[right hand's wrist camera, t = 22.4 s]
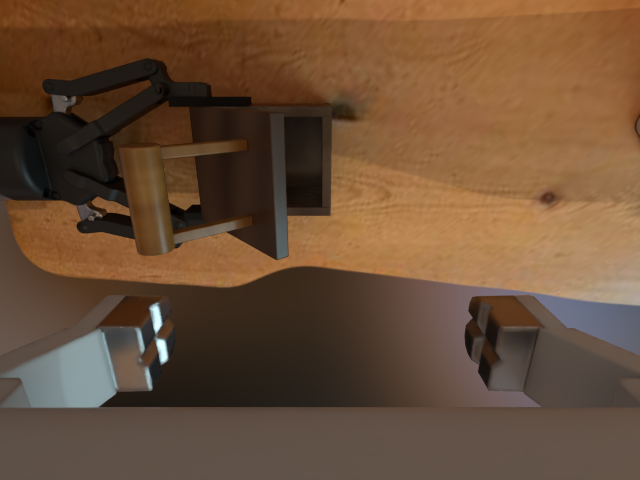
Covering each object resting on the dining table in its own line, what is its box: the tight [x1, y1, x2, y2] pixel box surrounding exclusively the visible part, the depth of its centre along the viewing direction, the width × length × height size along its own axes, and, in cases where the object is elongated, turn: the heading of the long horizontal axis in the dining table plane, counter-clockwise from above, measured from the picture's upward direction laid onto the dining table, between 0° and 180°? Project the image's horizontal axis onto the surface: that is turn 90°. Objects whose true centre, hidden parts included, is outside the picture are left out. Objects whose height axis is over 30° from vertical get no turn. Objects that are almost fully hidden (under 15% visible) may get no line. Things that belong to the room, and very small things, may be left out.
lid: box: [118, 107, 288, 260], centre depth 26 cm, size 12×9×9 cm
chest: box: [199, 104, 332, 216], centre depth 37 cm, size 11×9×9 cm
